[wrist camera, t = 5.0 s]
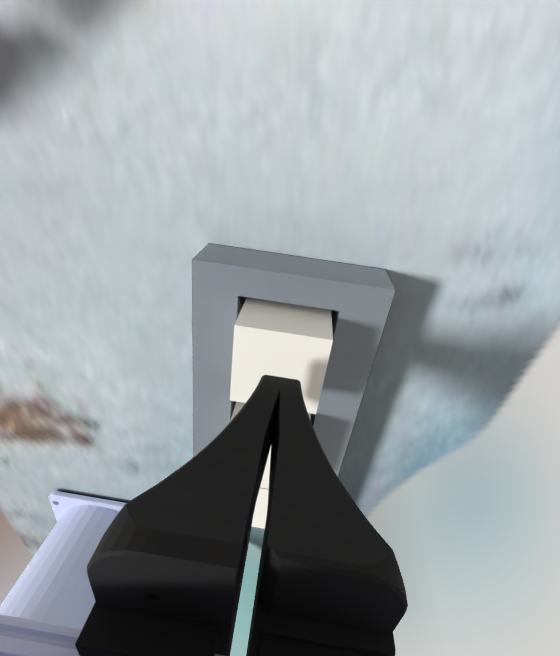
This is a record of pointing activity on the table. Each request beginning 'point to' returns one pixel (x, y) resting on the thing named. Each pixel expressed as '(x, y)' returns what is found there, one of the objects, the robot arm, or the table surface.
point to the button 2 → (280, 347)
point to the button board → (295, 288)
